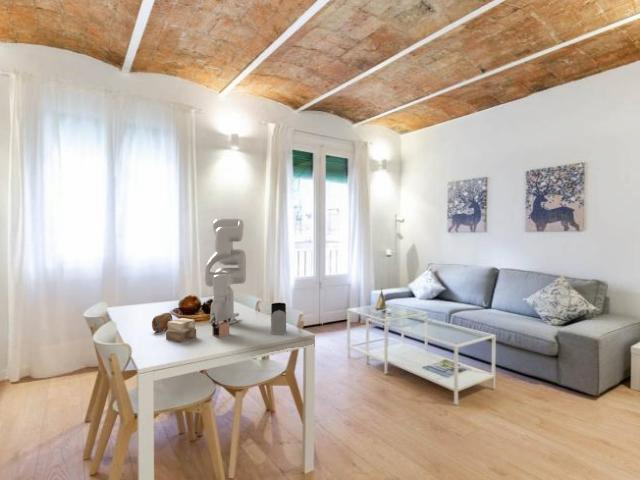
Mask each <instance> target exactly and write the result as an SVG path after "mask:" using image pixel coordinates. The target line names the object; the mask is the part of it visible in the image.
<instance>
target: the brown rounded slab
mask: <svg viewBox="0 0 640 480" xmlns="http://www.w3.org/2000/svg"><path fill="white" fill-rule="evenodd" d="M169 321H173V316H172V313H170V312H164V313H161V314H159V315H156V316H154V317H153V319H152V321H151V327H152V330H153V332H155V333H156V332H159V333H160V332H163V331H166V330H168V322H169Z"/></svg>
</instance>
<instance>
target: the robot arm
mask: <svg viewBox="0 0 640 480" xmlns="http://www.w3.org/2000/svg"><path fill="white" fill-rule="evenodd" d="M244 225H245V224H244V221H243V220H242V219H240V218H218V219H214V221H213V223H212V228H213V232H214V236H215V239H214V253H213V255H212V256H210V258H209V259H208V261H207V263H206V265H205V270H204V275H205V276H204V282H205V285H206V286H207V287H210V288H211V287H212V302H211V303H210V305H211V306H210V312H209V313H210V315H209V317H210V318H209V321H208V324H210V325H211V327H213V334H214V335H217V336H216V337H218V335H219V328H218V325H219V322H220V321H222V322H228V323H229V325H232V324H235V323H237V321H238V319H236V317H239V316H240V313H239V312H235V310H234V307H235V304H234V301H235V299H234V297H235V296H234V293H235V291H234V290H233V288H232V287H231V285H243V284H245V283H246V280H247V257H246V252H245V250H243V249H239V248H237V249H236V248H235V249H234V242H236V243H237V242H241V241H242V240H243V235H244V229H245V228H244ZM217 263H218V264H219V266H225V267H220V268H217V269H216V271H215V272H214V271H213V272H212V268H213V266H214V265H215V264H217ZM226 266H228V267H226ZM231 266H236V267H231ZM215 323H216V324H215Z"/></svg>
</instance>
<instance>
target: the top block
mask: <svg viewBox="0 0 640 480" xmlns="http://www.w3.org/2000/svg"><path fill="white" fill-rule="evenodd" d="M193 329H196V320H195V319H192V318H191V319H190V318H185V317H181V318H180V317H179V318H177V319H172V321H169V322H168V328H167V331H171V332H176V333H183V332H186V331H189V330H193Z"/></svg>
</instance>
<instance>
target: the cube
mask: <svg viewBox="0 0 640 480" xmlns="http://www.w3.org/2000/svg"><path fill="white" fill-rule="evenodd" d="M215 324H216V323H215ZM211 327H212V326H211ZM218 328H219V335H218V336H217V335H214V334H213V327H212V329H211V330H212V336H213V337H217V338H218V337H219V338H223V337H226V336H228V335H230V324H229V323H228V322H222V321H220V322H219V325H218Z"/></svg>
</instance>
